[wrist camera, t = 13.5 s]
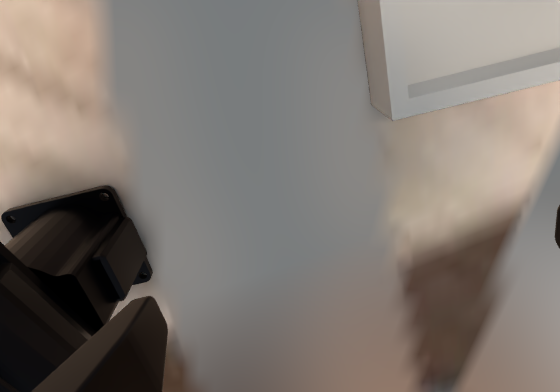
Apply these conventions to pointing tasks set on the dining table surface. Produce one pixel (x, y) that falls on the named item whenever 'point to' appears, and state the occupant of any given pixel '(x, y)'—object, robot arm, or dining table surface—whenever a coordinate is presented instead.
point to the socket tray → (456, 51)
